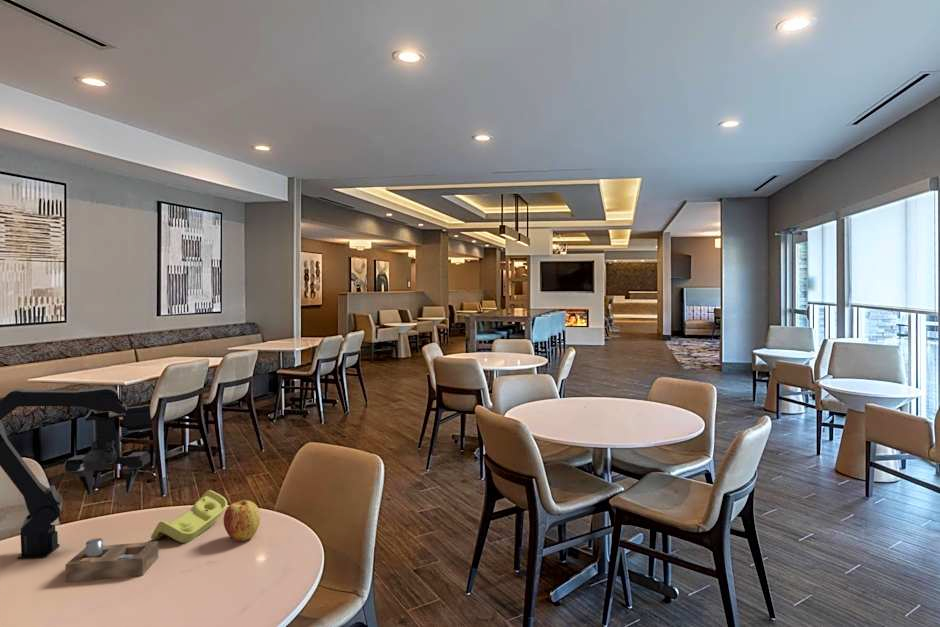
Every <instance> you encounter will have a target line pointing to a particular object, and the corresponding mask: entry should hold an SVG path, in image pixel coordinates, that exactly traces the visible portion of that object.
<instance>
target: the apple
mask: <svg viewBox="0 0 940 627" xmlns="http://www.w3.org/2000/svg"><path fill="white" fill-rule="evenodd" d="M223 515H224V516H223V527H224V529H225V532H226V533H227V535H228V536H229V538H230V539H231V540H232V541H234V542H245V541H248V540H249V539H251V538H253V537H254V536H255V535H256V533H257V531H258V530H259V527H260V523H261V511H260V509H259V506H258V505H257V504H256V503H255V502H253V501H251V500H247V499H245V500H238V501H235V502H232V503H230V504H229V505H227V507H226V509H225V510H224V514H223Z"/></svg>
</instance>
